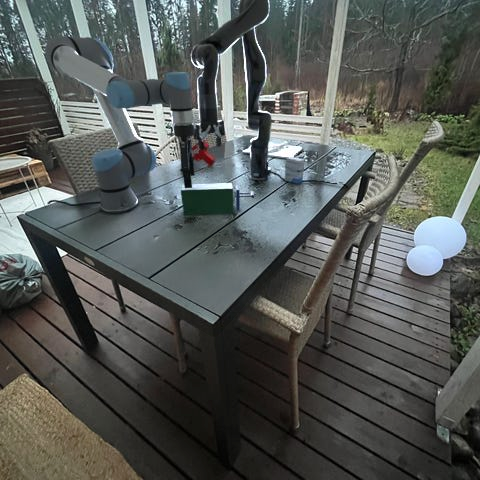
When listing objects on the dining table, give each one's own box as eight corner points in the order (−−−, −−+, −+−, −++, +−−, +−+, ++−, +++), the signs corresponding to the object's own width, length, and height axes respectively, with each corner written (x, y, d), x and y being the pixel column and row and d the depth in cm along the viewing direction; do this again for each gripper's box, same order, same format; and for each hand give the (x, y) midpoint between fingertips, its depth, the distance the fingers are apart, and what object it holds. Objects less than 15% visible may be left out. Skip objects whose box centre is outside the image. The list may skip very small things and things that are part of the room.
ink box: (302, 181, 142) (305, 159, 136) (297, 184, 139) (300, 161, 133) (289, 177, 147) (291, 156, 141) (284, 180, 144) (285, 158, 138)
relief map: (291, 159, 177) (291, 151, 174) (243, 153, 190) (243, 145, 187) (302, 149, 197) (303, 142, 194) (258, 144, 211) (258, 137, 208)
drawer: (253, 205, 117) (253, 185, 112) (254, 210, 113) (254, 189, 108) (194, 207, 116) (191, 186, 111) (193, 212, 112) (190, 191, 107)
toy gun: (219, 159, 165) (203, 138, 161) (216, 161, 162) (200, 139, 158) (199, 174, 175) (184, 155, 171) (196, 176, 172) (181, 156, 168)
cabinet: (232, 207, 118) (232, 183, 112) (233, 213, 113) (232, 188, 107) (185, 208, 117) (182, 184, 111) (183, 215, 112) (180, 190, 106)
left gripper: (177, 118, 106) (184, 171, 117) (166, 130, 85) (176, 194, 96) (196, 117, 106) (201, 170, 118) (190, 130, 85) (197, 193, 97)
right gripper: (216, 104, 114) (218, 144, 122) (187, 107, 106) (191, 149, 114) (227, 105, 109) (228, 147, 118) (198, 108, 101) (201, 153, 110)
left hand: (190, 181), depth 107 cm, fingers open, 13 cm apart
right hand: (210, 148), depth 116 cm, fingers open, 8 cm apart
